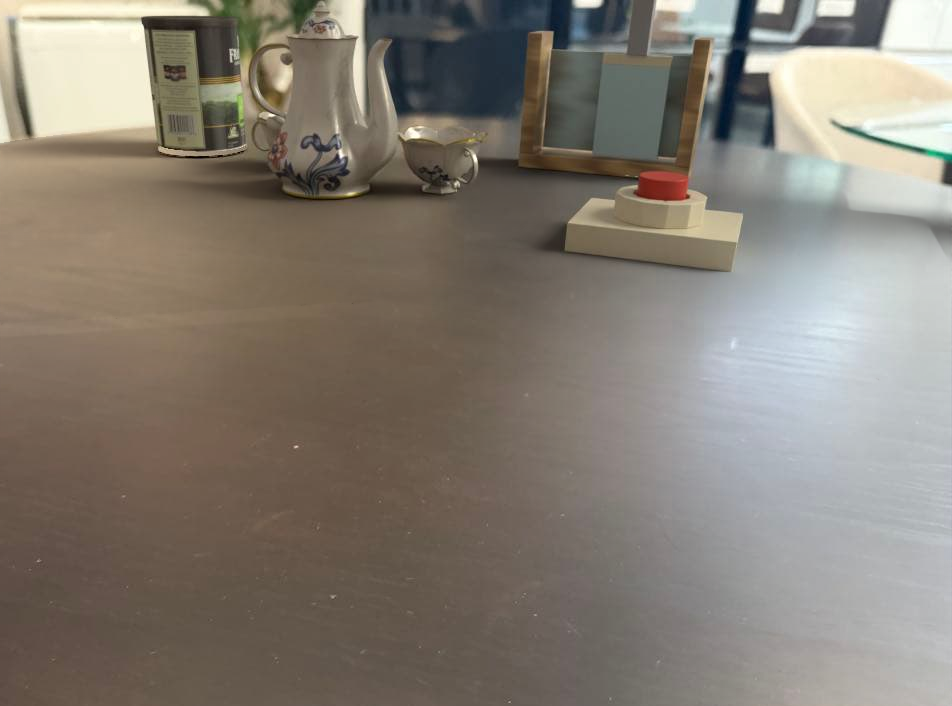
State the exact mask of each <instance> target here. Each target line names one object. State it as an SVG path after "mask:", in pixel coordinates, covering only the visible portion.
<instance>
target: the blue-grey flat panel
mask: <svg viewBox="0 0 952 706" xmlns="http://www.w3.org/2000/svg"><path fill="white" fill-rule="evenodd" d="M657 2H658V1H657V0H632V7H631V15H630V16H631V17H630V24H629V32H628V40H627V48H626V53H627V54H615V53H604V54H603V62H602V71H601V80H600V89H599V98H598V107H597V116H596V124H595V133H594V142H593V151H592V154H593V155H604V156H616V157H627V158H639V159H650V160H657V159H658V154H659V148H660V141H661V134H662V127H663V121H664V114H665V107H666V100H667V94H668V87H669V80H670V73H671V67H672V60H673V56H658V55H649V54H651V53H650V52H651V45H652V37H653V30H654V22H655V17H656V7H657Z"/></svg>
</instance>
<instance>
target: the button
mask: <svg viewBox="0 0 952 706" xmlns="http://www.w3.org/2000/svg"><path fill="white" fill-rule="evenodd" d="M689 182H690V178H689V177H688V176H686V175H683V174H679V173H674V172H664V171H649V172H643V173H641V174H640V175H639V178H638V181H637V185H638V189H637V196H638V197H642V198H646V199H652V200H662V201H681V200H686V194H687V189H688V188H689Z"/></svg>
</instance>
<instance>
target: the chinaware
mask: <svg viewBox="0 0 952 706" xmlns="http://www.w3.org/2000/svg"><path fill="white" fill-rule="evenodd" d="M312 13H313V14H314V16H313V17H309V18H307V19H305V21H304V22H303V24H302V26H301V29H300V31H299V33H297V34H295V33H294V34H293V33H291V34H285V37H286V39H287V42H281V41H280V42H269V43H266V44H263V45H261V46H260V47H259V48H257V49H256V51H255V52H254V53H253V55H252V56H251V58H250V61H249V65H248V70H247V78H248V85H249V88H250V89H249V90H250V92H251V94H252V97H253V98H254V100H255V101H256V103H257V104H258V105H259V107H261V108H262V109H263V110H264V111H263V110H262V111H260V112H259V113H258V114H257V117H256V120H257V121H256V122H255V123H254V124H253V125H252V127H251V141H252V142H253V145H254V146H255V147H256V148H257V149H258V150H259V151H262V152H267V153H268V154H267V158H266V161H267V166H268V167H269V169H270V171H271V172H272V173H273V174H274V175H275V176H276V178H278V179H279V180H280V181H281V182H282V184H283V185H282V187H281V190H282V192H283V193H284V194H287V195H289V196H291V197H296V198H302V199H310V200H341V199H351V198H356V197H360V196H363V195H365V194H368V193H369V192H370V191H371V186H370V183H369V181H370V180H371V179H372V178H373V177H374V176H375V175H376V174H377V173H379V172H380V171H381V170H382V169H383V168H384V167H386V166H387V164H389V163H390V162H391V161H392V159H393V158H394V156H395V154H396V152H397V147H398V141H399V142H400V143H401V147H402V150H403V155H404V159H405V161H406V164H407V167H409V169H410V171H411V172H412V173H413V174H414V176H415V177H417V178H418V179H419V180H421V181H423V182H425V183H426V184H422V186H421V190H422V192H423V193H430V194H432V193H433V194H439V195H443V194H450V193H451V194H452V193H457V192H458V190H459V189H460V188H461V183H462V184H464V185H471V184H473V183H474V182H475V181H476V178H477V176H478V172H479V164H478V163H479V161H478V153H479V150H480V148H481V145H482V143H483V142H484V141H486V140H487V139H488V138H489V133H488V132H487V131H481V132H479V133H475V132H473V131H472V130H471V129H470V128H468V127H465V126H462V125H453V126H451V125H450V126H447V127H444V128H441V129H438V131H437V129H434V128H431V127H429V126H425V125H413V126H409V127H408V128H406V129H405V131H403V132H400V131H399V123H398V115H397V111H396V108H395V103H394V100H393V97H392V93H391V89H390V85H389V82H388V78H387V75H386V70H385V66H384V62H385V61H384V60H385V54H386V52H387V50H388V48H389V46H390V45H391V44H392V42H393V39H391V38H380V39H378V40H377V41H376V42H375V43H374V44H373V45H372V47H371V49H370V51H369V54H368V57H367V64H366V65H367V86H368V96H369V97H368V99H369V110H370V111H369V114H370V118H369V125H367V123H366V121H365V118H364V117H363V113H362V111H361V108H360V105H359V102H358V97H357V93H356V89H355V80H354V56H355V51H356V45H357V40H358V38H359V35H354V34H345V32H344V30H343V28H342V25H341V23H339V21H338V20H337V19H335V18H333V17H329V14H330V13H331V10H330V9H328V8H327V5H326V3H325V1H323V0H320V1H318V2H317V4H316V7H315V8H314V9H313V10H312ZM275 49H276V50H277V49H286V50H288V51H289V52H283V53H281V54H280V56H279V60H280V62H281V63H282V64H283V65H285V66H290V65H291V64H292V87H291V93H290V99H289V104H288V107H287V110H285V111H284V112H283V111H280V110H278V109H276V108H274V107H273V106H272V105H270V104H269V103H268V102H267V101H266V99H265V98H264V97H263V95H262V93H261V91H260V88H259V84H258V79H257V70H258V64H259V62H260V60H261V58H262V57H263V55H264V54H266V53H267V52H268V51H271V50H275ZM259 124H260V126H261V128H262V132H263V134H264V137H265V138H264V139H265V140H266V143H267V144H268V146H269V148H263V147H262V146H261V145H260V144H259V143H258V141H257V138H256V130H257V127H258V125H259ZM471 169H472V175H471V177H470V179H469V180H468V181H467V180H465V179H463V178H464V177H465V176H467V174H468V173H469V172H470V171H471ZM423 186H425V187H423ZM424 188H425V189H424Z"/></svg>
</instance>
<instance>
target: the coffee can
mask: <svg viewBox="0 0 952 706" xmlns="http://www.w3.org/2000/svg"><path fill="white" fill-rule="evenodd" d="M140 20H141V25H142V26H143V33H144V42H145V51H146V58H147V67H148V77H149V85H150V94H151V101H152V110H153V118H154V119H153V120H154V125H155V126H154V127H155V135H156V142H157V144H158V145H159V146H161V147H164V148H168V149H174V150H183V151H196V152H211V151H212V152H214V151H226V150H233V149H238V148H241V147H243V146H245V145H246V146H247V141H246V127H245V126H246V125H245V114H244V100H243V85H242V84H243V83H242V71H241V56H240V43H239V29H238V27H239V18H238V17H235V16H222V15H221V16H220V15H147V16H146V15H145V16H141V17H140ZM157 144H156V145H157ZM158 145H157V146H158ZM156 151H157V152H158V150H157V149H156ZM241 153H242V152H240V153H235V154H230V155H229V156H232V155H233V156H234V155H237V154H241ZM160 154H162V155H165V156H169V157H174V156H173V155H167V154H163V153H160ZM225 156H227V155H223V156H222V157H225ZM177 157H180V158H186V157H185V156H177ZM214 157H217V156H209V157H208V158H214Z"/></svg>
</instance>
